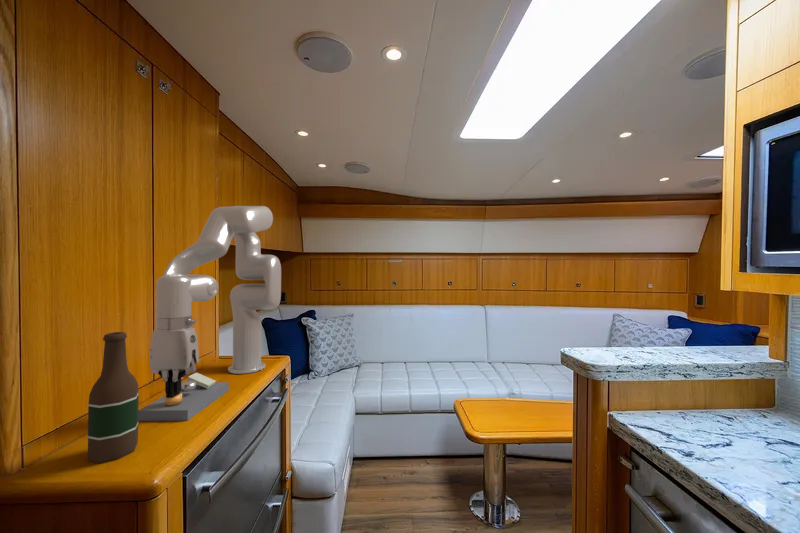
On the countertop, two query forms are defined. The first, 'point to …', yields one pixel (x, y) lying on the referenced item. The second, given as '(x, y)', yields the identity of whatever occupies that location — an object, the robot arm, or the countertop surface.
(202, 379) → the block
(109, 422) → the beer bottle
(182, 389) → the button metal
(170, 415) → the panel
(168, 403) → the button orange
